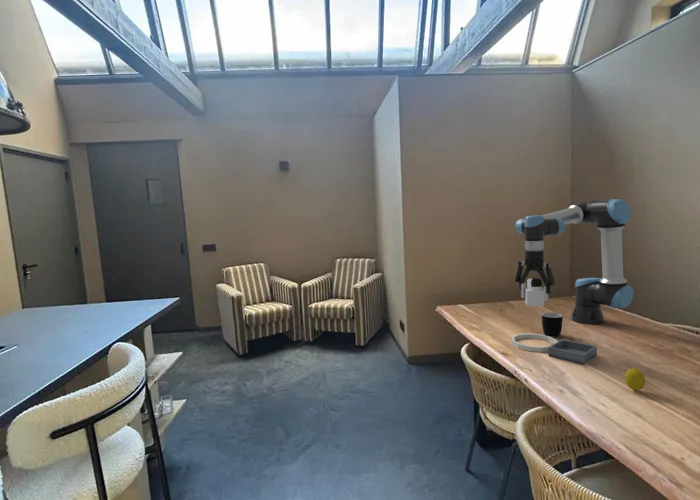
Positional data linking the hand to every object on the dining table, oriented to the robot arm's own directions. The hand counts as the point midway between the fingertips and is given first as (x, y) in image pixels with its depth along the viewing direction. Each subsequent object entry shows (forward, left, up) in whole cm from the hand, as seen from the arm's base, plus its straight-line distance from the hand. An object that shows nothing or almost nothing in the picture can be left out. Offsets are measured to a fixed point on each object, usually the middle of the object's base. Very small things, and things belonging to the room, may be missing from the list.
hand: (534, 298), depth 176 cm
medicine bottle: (0, 0, -3) cm, 3 cm away
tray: (+3, +17, -21) cm, 28 cm away
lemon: (+21, +44, -22) cm, 53 cm away
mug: (-19, -1, -22) cm, 29 cm away
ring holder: (0, 0, -21) cm, 21 cm away
